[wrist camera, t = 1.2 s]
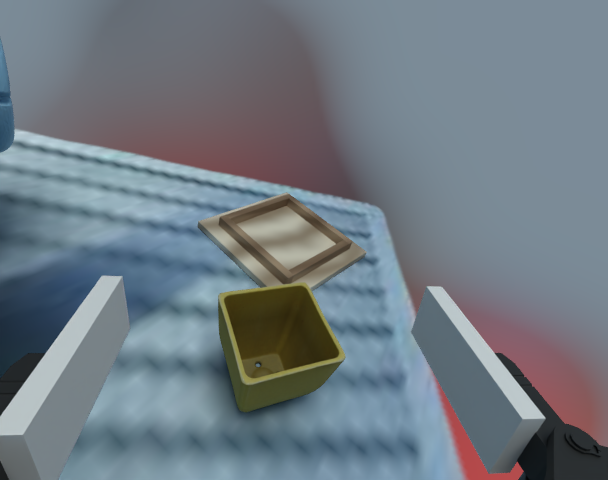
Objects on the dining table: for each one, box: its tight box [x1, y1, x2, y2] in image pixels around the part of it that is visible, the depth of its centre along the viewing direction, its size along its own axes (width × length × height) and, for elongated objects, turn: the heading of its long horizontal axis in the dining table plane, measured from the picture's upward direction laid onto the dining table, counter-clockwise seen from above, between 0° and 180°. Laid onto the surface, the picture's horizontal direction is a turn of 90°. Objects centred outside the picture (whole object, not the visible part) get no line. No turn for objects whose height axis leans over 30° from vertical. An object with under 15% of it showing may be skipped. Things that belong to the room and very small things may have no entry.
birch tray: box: [198, 193, 366, 291], centre depth 51 cm, size 18×18×2 cm
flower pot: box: [218, 282, 345, 412], centre depth 32 cm, size 9×9×9 cm
